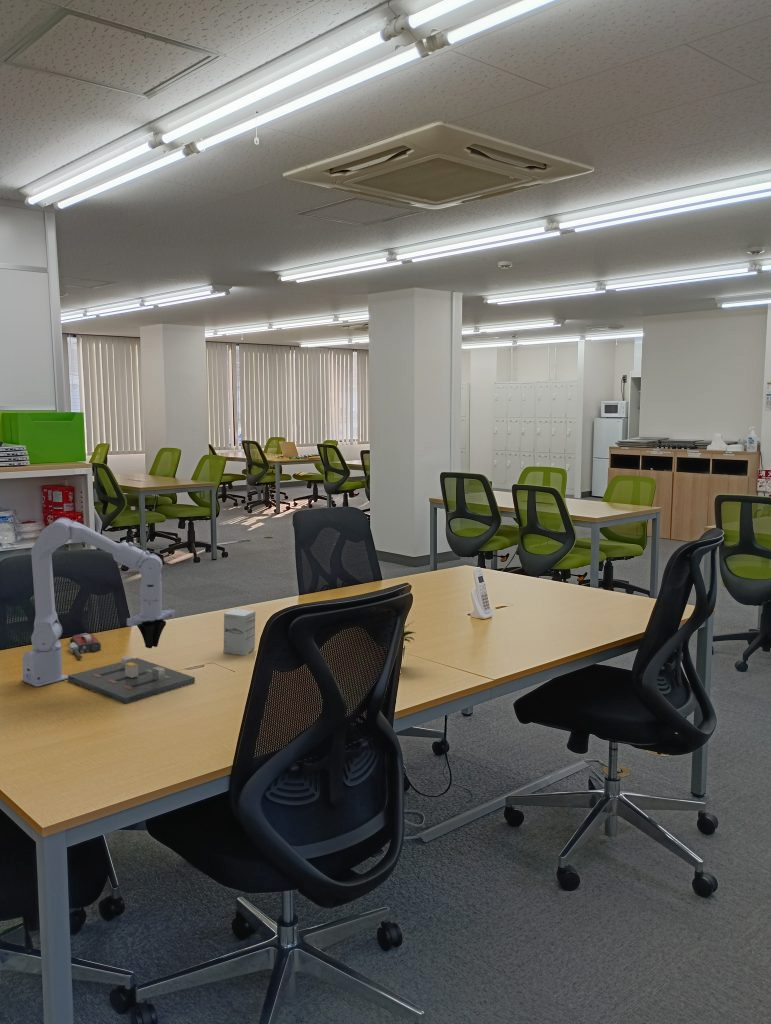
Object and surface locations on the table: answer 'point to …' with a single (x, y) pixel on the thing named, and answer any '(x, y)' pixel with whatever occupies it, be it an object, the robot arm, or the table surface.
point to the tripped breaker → (131, 670)
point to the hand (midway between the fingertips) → (151, 646)
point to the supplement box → (239, 631)
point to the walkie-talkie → (84, 644)
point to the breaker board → (131, 680)
